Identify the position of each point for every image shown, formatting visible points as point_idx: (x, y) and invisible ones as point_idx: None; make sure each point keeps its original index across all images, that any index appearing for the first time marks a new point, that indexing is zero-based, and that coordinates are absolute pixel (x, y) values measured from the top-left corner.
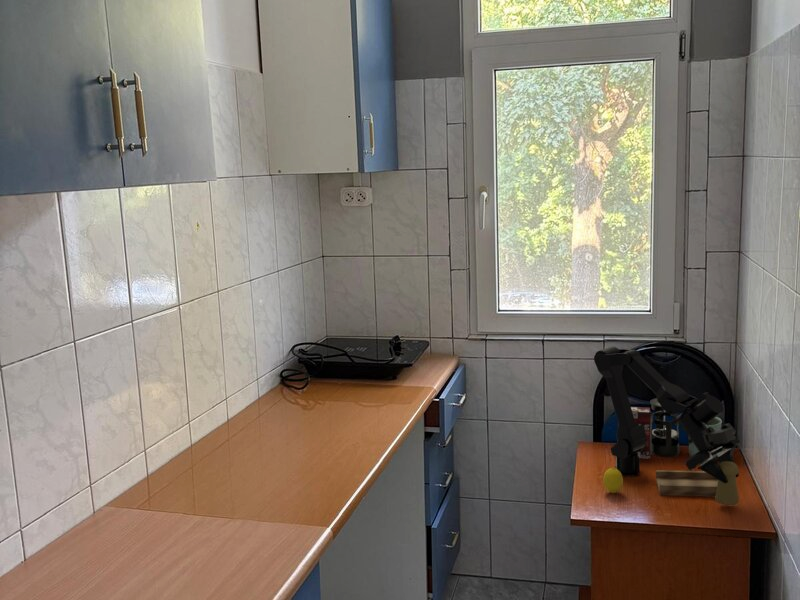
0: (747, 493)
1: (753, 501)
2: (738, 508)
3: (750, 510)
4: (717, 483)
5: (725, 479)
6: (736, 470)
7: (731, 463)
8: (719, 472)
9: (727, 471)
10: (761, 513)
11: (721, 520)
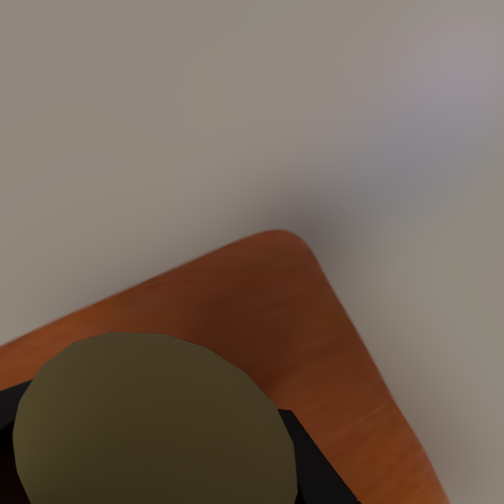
0: (24, 368)
1: (76, 334)
2: None
3: (163, 325)
4: None
5: (303, 429)
6: (175, 338)
7: (91, 433)
8: (351, 498)
9: (286, 435)
10: (168, 280)
11: (331, 392)
